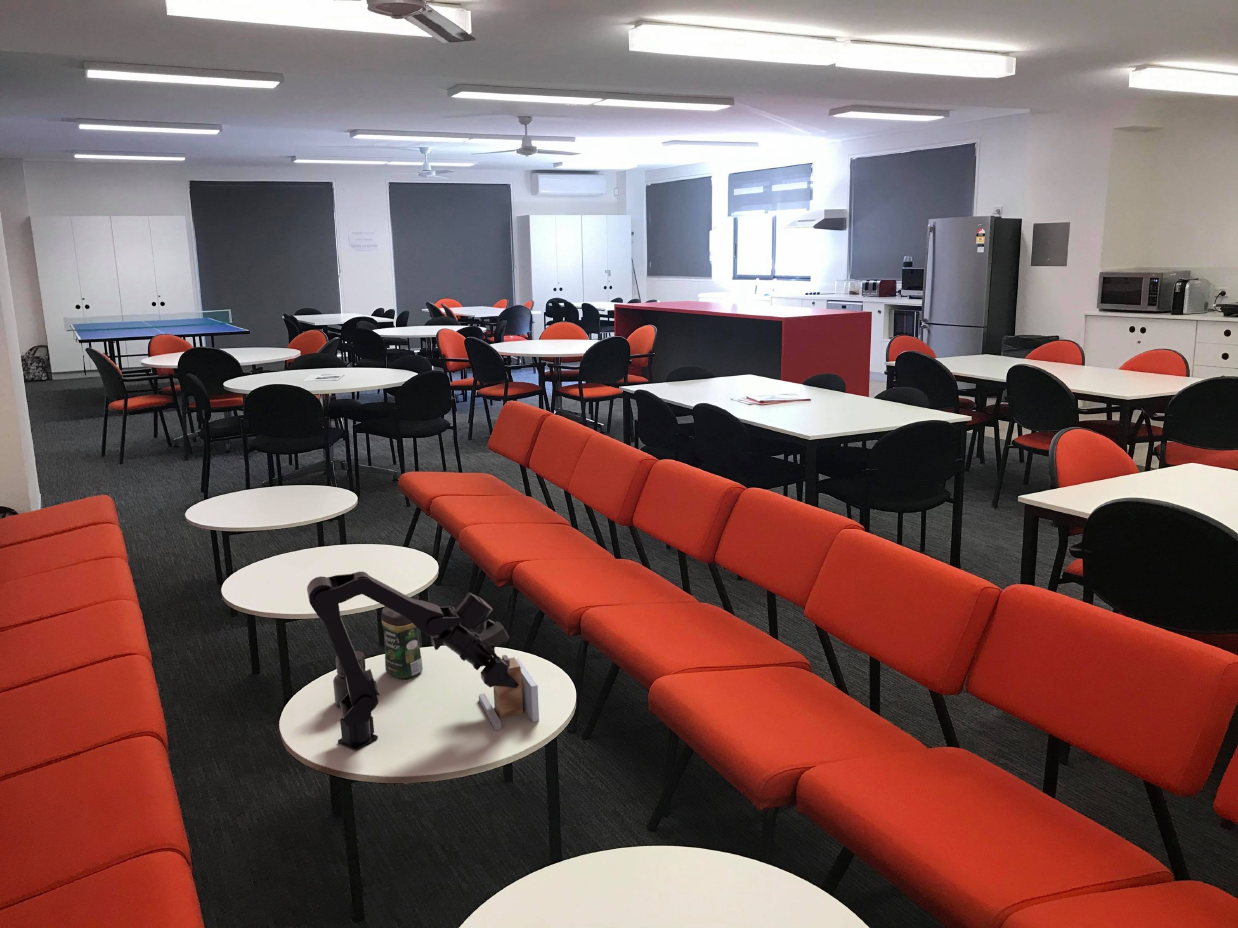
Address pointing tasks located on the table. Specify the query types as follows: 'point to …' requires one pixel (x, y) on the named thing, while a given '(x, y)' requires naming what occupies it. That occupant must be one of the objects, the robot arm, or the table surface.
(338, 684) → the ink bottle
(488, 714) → the wall dock
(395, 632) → the coffee jar
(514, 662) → the tan upright block
